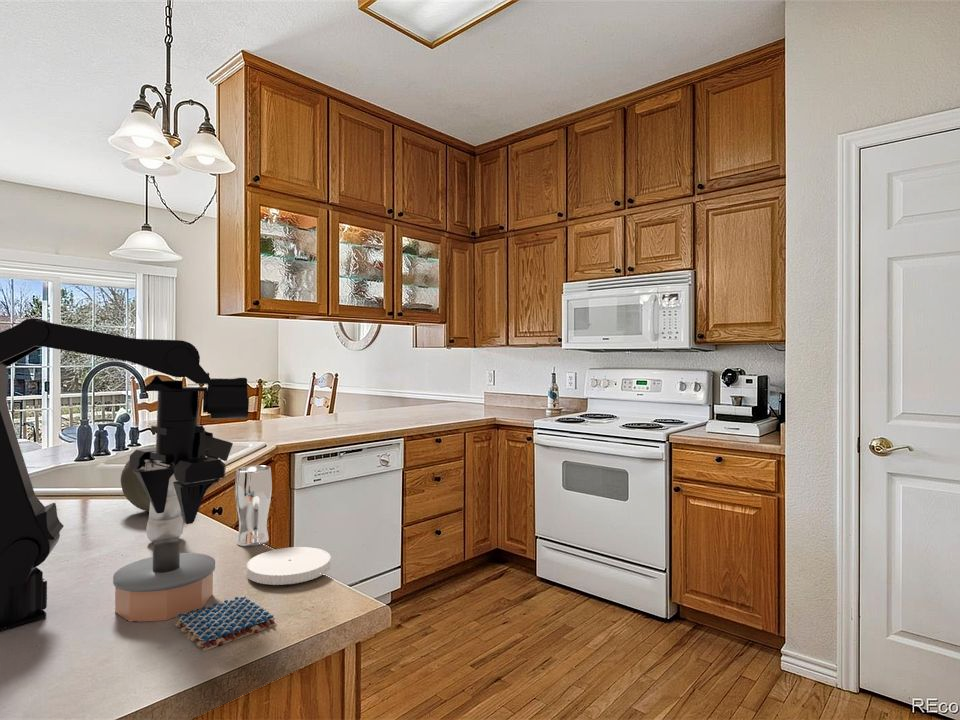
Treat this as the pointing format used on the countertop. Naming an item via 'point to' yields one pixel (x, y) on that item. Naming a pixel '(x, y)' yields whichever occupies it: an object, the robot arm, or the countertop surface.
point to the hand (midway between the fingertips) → (174, 518)
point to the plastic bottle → (166, 518)
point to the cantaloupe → (134, 488)
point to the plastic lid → (288, 565)
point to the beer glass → (253, 504)
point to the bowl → (163, 601)
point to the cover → (164, 569)
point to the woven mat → (225, 622)
